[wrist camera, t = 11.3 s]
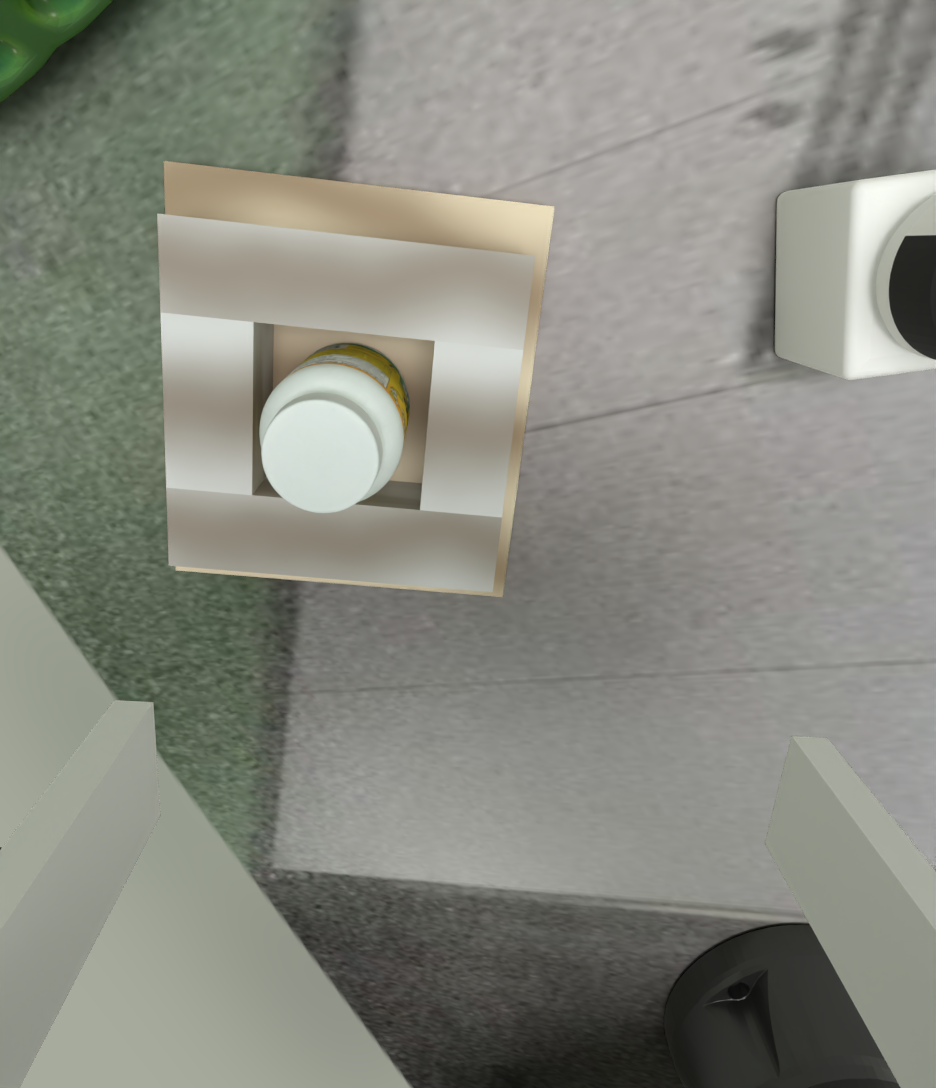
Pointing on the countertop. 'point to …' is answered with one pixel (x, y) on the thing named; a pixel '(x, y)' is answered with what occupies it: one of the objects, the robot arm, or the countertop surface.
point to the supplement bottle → (335, 428)
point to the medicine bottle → (858, 276)
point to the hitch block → (346, 317)
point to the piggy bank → (38, 34)
